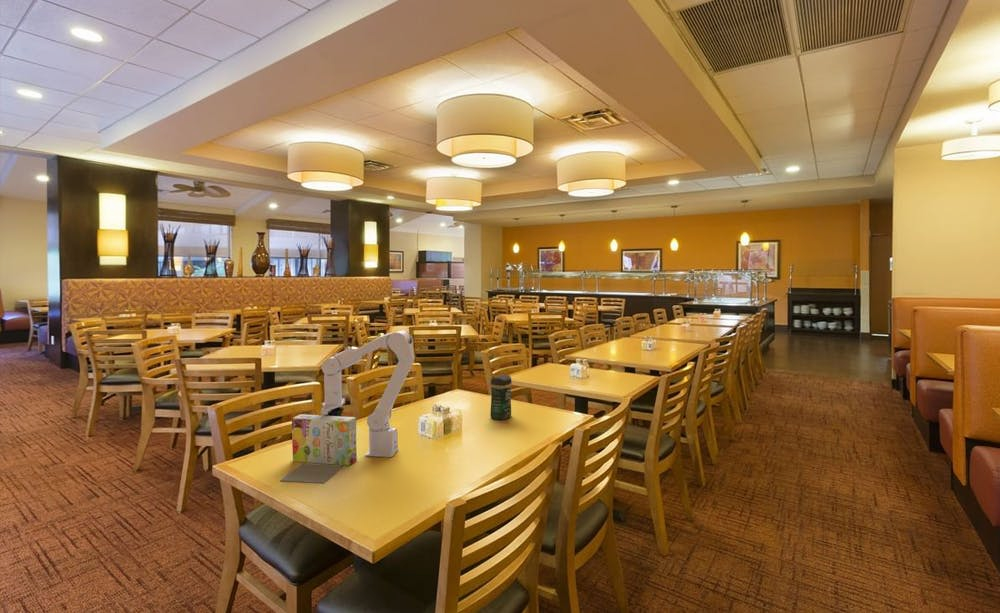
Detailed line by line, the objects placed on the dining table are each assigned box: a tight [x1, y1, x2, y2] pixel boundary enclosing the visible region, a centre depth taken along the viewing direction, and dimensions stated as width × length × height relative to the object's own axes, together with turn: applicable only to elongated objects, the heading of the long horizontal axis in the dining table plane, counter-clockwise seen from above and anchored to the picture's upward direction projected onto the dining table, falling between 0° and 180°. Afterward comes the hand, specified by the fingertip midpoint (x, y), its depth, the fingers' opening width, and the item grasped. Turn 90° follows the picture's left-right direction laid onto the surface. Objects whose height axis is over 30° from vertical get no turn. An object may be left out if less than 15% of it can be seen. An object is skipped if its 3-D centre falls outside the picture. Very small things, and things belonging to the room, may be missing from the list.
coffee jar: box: [489, 374, 513, 420], centre depth 213 cm, size 10×8×19 cm
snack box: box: [291, 413, 358, 467], centre depth 163 cm, size 21×6×15 cm, turn 79°
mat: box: [279, 463, 343, 484], centre depth 153 cm, size 14×13×1 cm
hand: (334, 429), depth 170 cm, fingers closed
